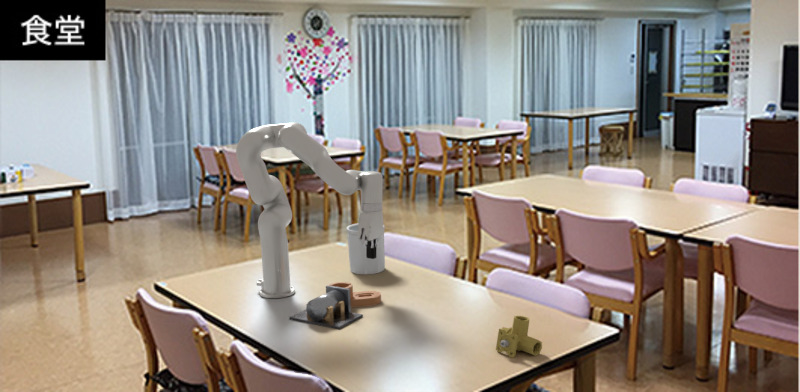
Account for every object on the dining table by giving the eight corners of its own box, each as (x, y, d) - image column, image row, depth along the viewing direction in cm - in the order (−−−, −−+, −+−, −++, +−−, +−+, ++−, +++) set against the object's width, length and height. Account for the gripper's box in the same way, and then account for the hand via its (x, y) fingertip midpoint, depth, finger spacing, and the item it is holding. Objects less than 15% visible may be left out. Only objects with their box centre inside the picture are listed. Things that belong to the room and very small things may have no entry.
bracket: (330, 309, 268) (329, 290, 267) (327, 302, 276) (326, 283, 275) (383, 304, 272) (382, 285, 270) (378, 297, 280) (377, 278, 278)
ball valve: (507, 344, 234) (485, 349, 227) (512, 310, 233) (489, 314, 226) (541, 358, 225) (519, 364, 218) (547, 323, 224) (524, 328, 217)
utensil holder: (371, 277, 304) (370, 232, 301) (340, 272, 312) (338, 228, 309) (393, 267, 316) (391, 224, 313) (362, 263, 324) (361, 221, 321)
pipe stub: (289, 319, 259) (288, 294, 258) (316, 306, 271) (314, 283, 269) (339, 329, 249) (338, 303, 247) (364, 315, 260) (363, 291, 259)
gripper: (374, 202, 286) (374, 252, 289) (350, 209, 273) (350, 261, 277) (392, 204, 282) (391, 255, 285) (368, 212, 269) (368, 264, 273)
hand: (371, 257), depth 281 cm, fingers closed
